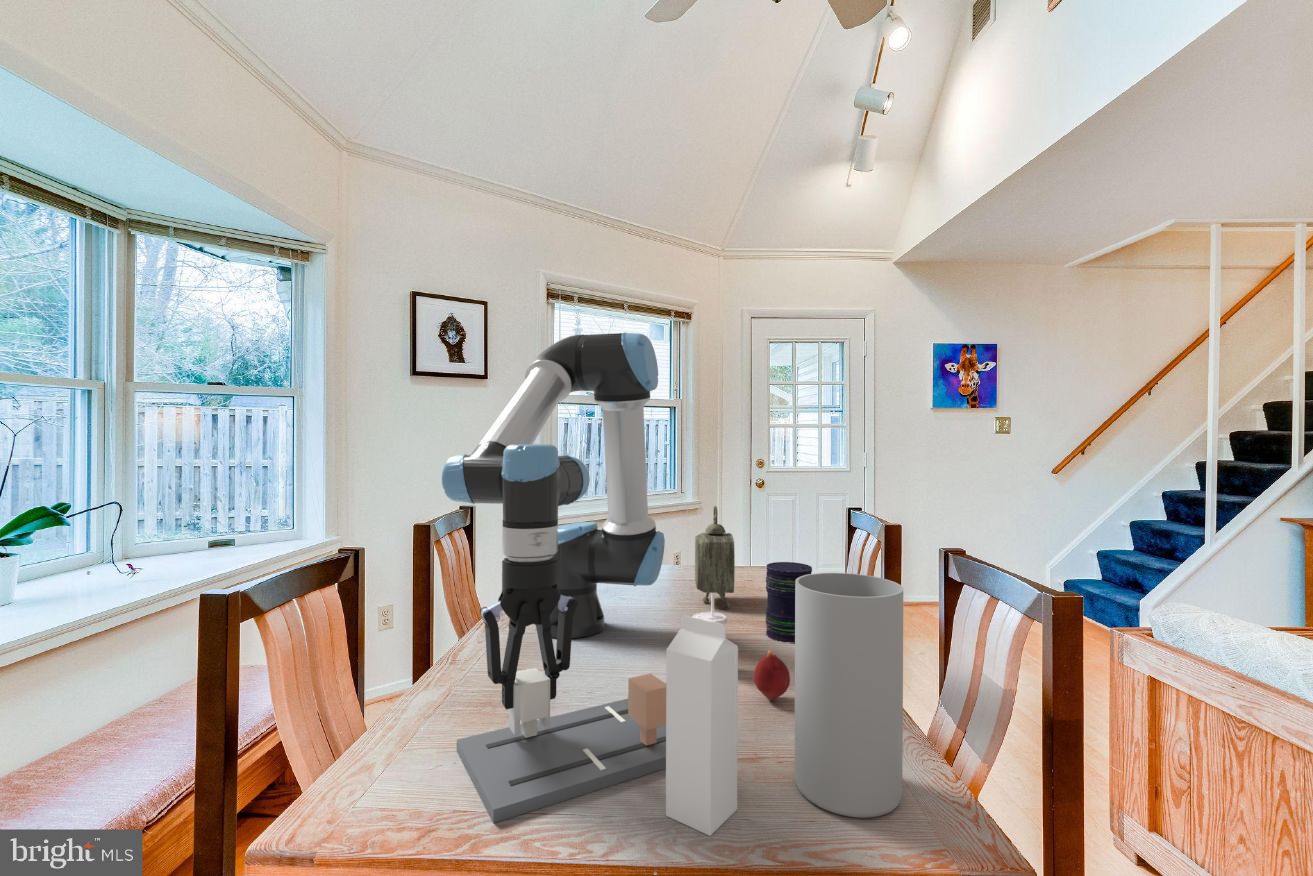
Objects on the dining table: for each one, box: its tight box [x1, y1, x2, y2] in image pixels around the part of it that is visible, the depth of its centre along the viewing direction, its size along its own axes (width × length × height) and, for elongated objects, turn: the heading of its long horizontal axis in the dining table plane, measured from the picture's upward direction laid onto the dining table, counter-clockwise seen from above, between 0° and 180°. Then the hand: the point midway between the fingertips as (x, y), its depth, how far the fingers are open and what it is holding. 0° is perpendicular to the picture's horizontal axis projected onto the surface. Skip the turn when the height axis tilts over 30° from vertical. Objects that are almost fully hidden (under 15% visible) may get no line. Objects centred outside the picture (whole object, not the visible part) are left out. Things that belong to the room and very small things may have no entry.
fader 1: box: [515, 667, 548, 738], centre depth 84 cm, size 5×4×8 cm
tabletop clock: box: [694, 505, 736, 610], centre depth 158 cm, size 14×9×25 cm, turn 179°
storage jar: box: [765, 561, 813, 644], centre depth 132 cm, size 10×10×15 cm
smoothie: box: [692, 593, 728, 626], centre depth 113 cm, size 6×6×14 cm
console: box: [456, 698, 666, 824], centre depth 82 cm, size 18×28×2 cm, turn 121°
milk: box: [665, 615, 739, 837], centre depth 70 cm, size 6×6×22 cm
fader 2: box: [627, 673, 666, 746], centre depth 82 cm, size 5×4×8 cm
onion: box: [753, 650, 791, 701], centre depth 100 cm, size 6×6×8 cm
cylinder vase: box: [793, 572, 904, 819], centre depth 74 cm, size 12×12×25 cm
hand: (529, 726), depth 84 cm, fingers closed on fader 1, 3 cm apart
